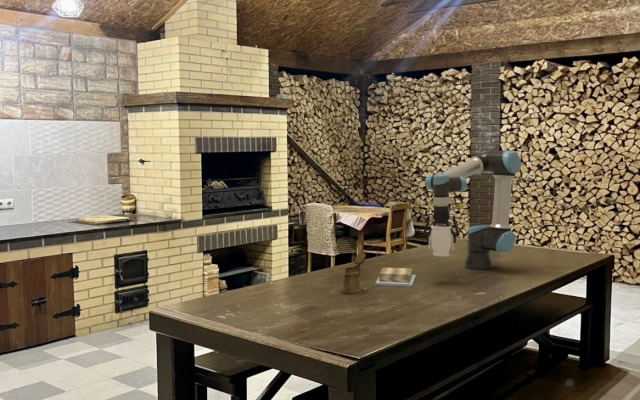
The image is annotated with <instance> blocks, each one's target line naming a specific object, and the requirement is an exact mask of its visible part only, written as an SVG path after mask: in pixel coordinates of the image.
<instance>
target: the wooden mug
mask: <svg viewBox="0 0 640 400" xmlns="http://www.w3.org/2000/svg"><path fill="white" fill-rule="evenodd" d="M366 258H367V255H366V253H365V251H361V252H359V253H358V254H357V255H356V256H355V258H354V263H355V264H354V265H353V267H352V266H348V267H345V268H344V271H343V283H342V289H341V292H342V293H344V294H359V293H361V292H362V289H361V285H360V277H361V271H362V270H361V266H362V264H363V263H364V262H365V261H366Z"/></svg>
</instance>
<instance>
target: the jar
mask: <svg viewBox="0 0 640 400" xmlns="http://www.w3.org/2000/svg"><path fill="white" fill-rule="evenodd" d="M432 225H433V224H432ZM432 225H430V228H432V230H431V233H430V235H429V236H430V239H431V250H432V251H433V252H432V255H433V256H434V257H441V258H442V257H449V256H450V255H451V254H450V251H451V249H452V236H453V235H452V233H451V230H450V229H451V228H452V229H453V225H451V224H450V226H447V225H446V224H436V225H435V226H432Z"/></svg>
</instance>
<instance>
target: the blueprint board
mask: <svg viewBox="0 0 640 400" xmlns="http://www.w3.org/2000/svg"><path fill="white" fill-rule="evenodd" d="M416 277H417V275H416V274H412V278H411V280H410V283H406V282H382V281H379V277H378V278H377V280H376V281H375V284H374V285H375V286H384V287H385V286H386V287H387V286H389V287H408V288H412V287H413V285H414V284H415V283H414V282H415V280H416Z"/></svg>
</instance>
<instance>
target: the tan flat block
mask: <svg viewBox="0 0 640 400" xmlns="http://www.w3.org/2000/svg"><path fill="white" fill-rule="evenodd" d="M412 275H413V268H407V267H403V268H402V267H400V268H399V267H382V269H381V270H380V271H379V276H378V278H379V281H382V282H406V283H410V280H411V278H412Z"/></svg>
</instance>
